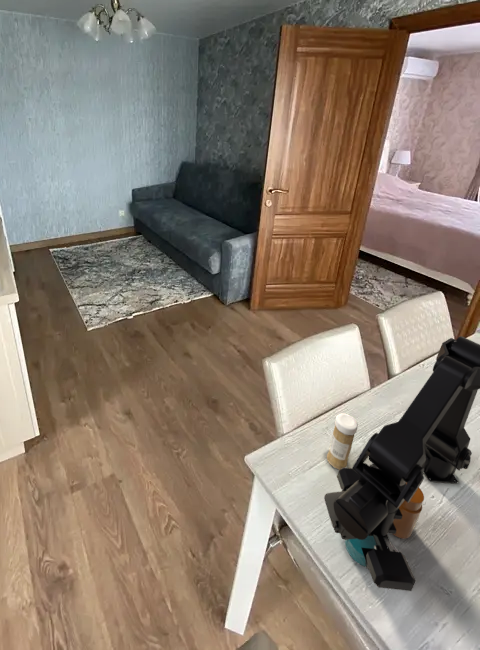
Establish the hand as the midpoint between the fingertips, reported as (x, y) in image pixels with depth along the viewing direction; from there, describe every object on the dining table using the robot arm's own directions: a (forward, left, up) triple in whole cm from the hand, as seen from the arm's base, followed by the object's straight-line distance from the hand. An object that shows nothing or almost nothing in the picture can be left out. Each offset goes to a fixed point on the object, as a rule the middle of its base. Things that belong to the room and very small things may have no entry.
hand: (361, 547), depth 67 cm
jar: (-9, -5, 0) cm, 10 cm away
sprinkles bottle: (-1, -18, 0) cm, 18 cm away
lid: (0, 0, 0) cm, 0 cm away
